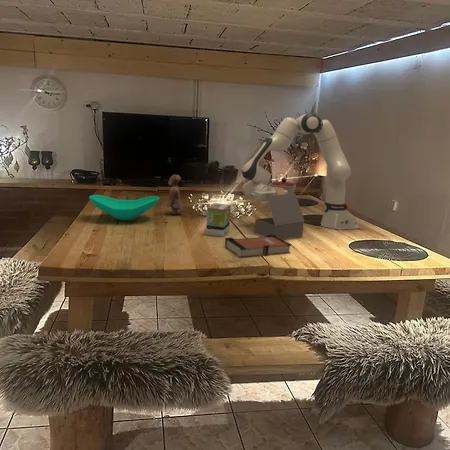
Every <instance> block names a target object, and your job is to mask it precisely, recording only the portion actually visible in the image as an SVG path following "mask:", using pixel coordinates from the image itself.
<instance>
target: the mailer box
mask: <svg viewBox="0 0 450 450" xmlns="http://www.w3.org/2000/svg"><path fill="white" fill-rule="evenodd" d="M254 222H255V224H254V235H257V236H259V237H268V235H275V236H277V238H279V239H281V240H283V241H285V240H291V239H296V238H297V239H298V238H301V237H303V232H304V222H305V221H304V222H298V223H291V224H283V225H275V223H274V219H273V216H272V217H266V218H265V217H264V218H256V219H255V221H254Z"/></svg>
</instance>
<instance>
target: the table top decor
mask: <svg viewBox="0 0 450 450" xmlns="http://www.w3.org/2000/svg"><path fill="white" fill-rule="evenodd" d="M88 197H89V200H90V202H91V203H92V204H93V205H94V206H95V207H97V208H98V209H99V210H101V211H102V212H104V213H106V214H108V215H109V216H110V217H112V218H114V219H115V220H117V219H118V221H124V220H126V221H133V220H135V219H136V218H138V217H139V216H141V215H143V214H145V213H146V212H148V210H150V209H152V208H153V207H155V205H156V204H158V202H160V197H159V196H157V195H151V196H145V197H141V198H138V199H116V198H113V197H110V196H106V195H100V194H93V195H90V196H88ZM132 219H133V220H132Z"/></svg>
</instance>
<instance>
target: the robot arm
mask: <svg viewBox="0 0 450 450" xmlns="http://www.w3.org/2000/svg"><path fill="white" fill-rule="evenodd" d="M298 134H299V135H309V134H313V135H314V136H315V138H316V142H317V143H318V147H319V150H320V152H321V156H322V157H323V159H324V161H325V164H326V176H325V177H326V179H325V181H326V191H325V201H324V204H323V214H322V218H321V221H320V224H321V225H320V226H321V227H324V228H329V229H333V230H353V229H360V228H359V227H360V226H359V225H358V224H357V223H356V218H355V216H354V215H353V214H352V213H351V212H350V211H349V210H347V209H350V208H351V205H350V204H347V203H346V201H345V200H346V191H347V189H346V180H348V178H350V176H351V173H352V171H351V170H352V169H351V167H350V164H349V161H348V160H347V157H346V155H345V154H344V152H343V149H342V147H341V144H340V141H339V138H338V136H337V133H336V131H335V128H334V127H333V125H332V123H331V122H330V120H328V119H322V118H320V117H319V116H318V115H317V114H315V113H311V112H310V113H305V114H302V115H300V116H298V117H296V118H293V117H285V118H284V119H283V120H282V121H281V122H280V123H279V125H278V126H277V127H276V130H275V131H274V133H273V134H272V135H271V136H270V137H266V138H265V139H264V140H263V141H262V142H261V143H260V145H259V146H258V147H257V148H256V150H255V151H254V152H253V154H252V155H251V157H250V158H249V159H248V160H247V161H246V162H245V163H244V164H243V165H242V166H241V175H242V177H243V178H244V179H246V180H248V181H247V182H245V183H244V184H243V185H242V193H243V194H244V195H245V196H246V197H248V198H250V199H252V200H253V199H254V200H255V199H256V200H257V201H261V202H262V201H263V202H268V200H267V197H266V196H270V195H277V193H276V190H275V188H278V187H274V186H270V185H271V181H272V180H271V179H272V174H271V172H270V171H268V169H266V168H263V167H262V166H260V165H259V163H260V162H261V161H262V159H263V158H264V157H265V155H267V153H269V152H271V151H274V152H284V151H286V150H287V149H288V148H289V147H290V145H291V144H292V142H293V140H294V139H295V137H296V136H297V135H298ZM284 193H285V194H288V191H286V190H284Z"/></svg>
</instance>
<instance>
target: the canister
mask: <svg viewBox="0 0 450 450" xmlns="http://www.w3.org/2000/svg"><path fill="white" fill-rule="evenodd" d="M270 185H271V186H274V187H278V188H282V187H283V190H286V191H288V194H295V189H296V187H297V185H296V184H295V182H292V181H287V179H286V177H281V178H280V180H278V181H275V180H274V181H272V182H270Z"/></svg>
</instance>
